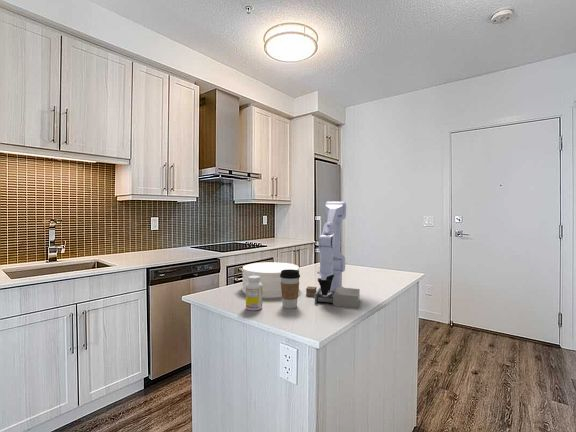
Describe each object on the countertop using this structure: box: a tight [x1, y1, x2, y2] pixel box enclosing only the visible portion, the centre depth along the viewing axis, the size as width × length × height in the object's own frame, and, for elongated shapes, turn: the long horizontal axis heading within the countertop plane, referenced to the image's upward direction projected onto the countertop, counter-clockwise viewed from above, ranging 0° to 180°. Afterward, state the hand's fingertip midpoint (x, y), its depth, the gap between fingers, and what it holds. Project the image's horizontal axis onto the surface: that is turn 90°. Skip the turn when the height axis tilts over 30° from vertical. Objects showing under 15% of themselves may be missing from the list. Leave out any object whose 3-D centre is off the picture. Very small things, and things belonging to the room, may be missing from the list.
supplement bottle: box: [245, 276, 263, 311], centre depth 126 cm, size 7×7×13 cm
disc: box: [319, 291, 333, 299], centre depth 137 cm, size 6×6×2 cm
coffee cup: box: [280, 269, 301, 309], centre depth 129 cm, size 8×8×15 cm
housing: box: [332, 287, 361, 309], centre depth 134 cm, size 12×10×5 cm
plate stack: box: [241, 261, 300, 299], centre depth 155 cm, size 28×28×12 cm
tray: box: [313, 287, 334, 304], centre depth 137 cm, size 12×10×4 cm
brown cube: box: [305, 286, 317, 298], centre depth 145 cm, size 4×4×4 cm
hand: (326, 292), depth 137 cm, fingers open, 7 cm apart
